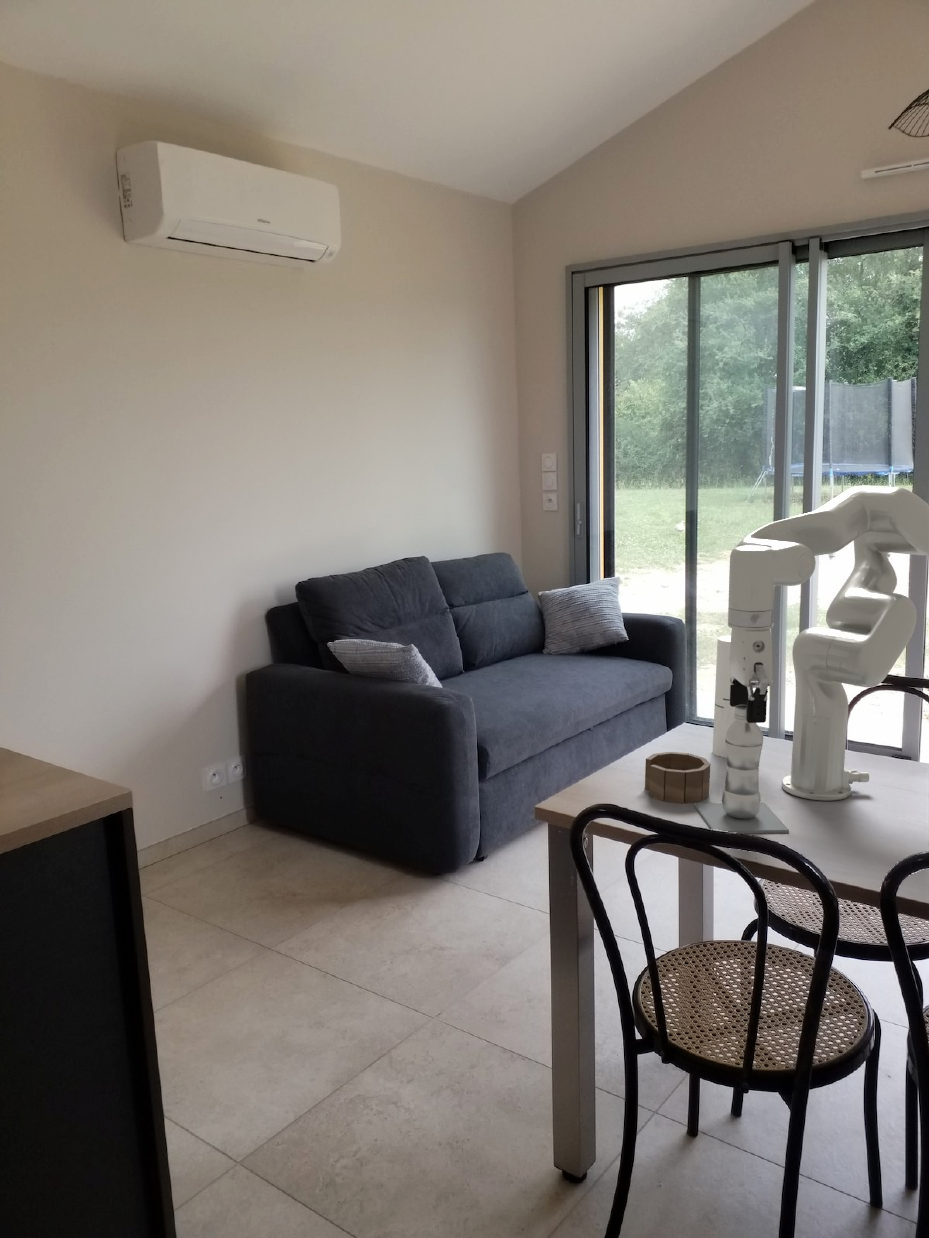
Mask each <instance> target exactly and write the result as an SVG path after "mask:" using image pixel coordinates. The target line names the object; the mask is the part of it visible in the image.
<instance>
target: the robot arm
mask: <svg viewBox="0 0 929 1238" xmlns="http://www.w3.org/2000/svg"><path fill="white" fill-rule="evenodd" d="M852 542H853V547H854V548H853V549H854V550H853V551H854V567H853V570H852V572H850V575H849V576H848V578H847V579H846V580H845V582H844V584H843V585H842V586H841V588H840V589H839V591H838V592H837V593H836V595H835V597H834V598H832V599H833V600H832V601H831V603H830V604H829V606H828V608H827V610H826V615H825V622H826V624H827V627H820V626H816V627H815V626H814V627H810V628H805V629H804V630H802V631H800V633H799V634H798V635H797V636H796V637H795V639H794V642H793V644H792V650H791V651H792V663H793V670H794V676H795V677H794V678H795V697H794V698H795V703H794V717H793V731H792V732H793V735H792V747H791V748H792V750H791V765H790V766H791V767H790V774H789V775H786V776H784V777H783V778H782V780H781V788H782V789H783V790H784V791H785V792H787V793H789V794H791V795H793V796H796V797H799V798H803V799H807V800H813V801H823V802H825V801H839V800H843V799H846V798H848V797H849V796H851V794H852V786H851V785H852V784H853V783H868V782H869V781H870V774H869V772H867V771H864V772H863V771H858V770H857V769H853V768H852V769H847V768H846V767H845V759H846V746H847V745H846V744H847V731H848V730H847V729H848V718H849V717H848V715H849V699H848V695H847V693H846V690H845V687H844V685H843V684H845V685H850V686H855V687H860V688H874V687H876V686H878V685H880V684H881V683H882V682H883V681H884V680H885V679H886V678H887V677H888V675H889V673H890V672H891V670H892V669H893V667H894V666H895V664H896V662H897V661H898V659H899V657H900V656H901V655H902V653H903V651H904V650H905V649H906V647H907V645H908V644H909V643H910V640H911V638H912V637H913V634H914V631H915V628H916V625H917V620H918V619H917V617H918V615H917V613H918V612H917V607H916V605H915V604H914V602H913V601H912V600H911V598H909V597H908V596H907V595H904V594H901V593H897V592H896V593H895V590H896V587H897V586H898V578H897V574H896V570H895V569H894V566H893V565H892V564H891V562H890V560H889V557H888V553H891V554H893V553H894V554H903V555H904V554H905V555H916V556H929V504H928V503H927V502H926V501H925V500H924V499H922V498H921V497H920V496H918V495H917V494H915V493H914V492H913V491H910V490H908V489H906V488H903V487H898V486H894V487H893V486H879V485H878V486H877V485H859V486H852V487H850V488H847V489H846V490H845V491H843V492H841V493H840V494H838V495H836V496H835V497H834V498H831V499H830V500H829V501H827V502H825V504H822V505H821V506H819V507H818V508H816V509H815V510H813V511H810V512H807V513H803V514H798V515H795V516H791V517H789V518H785V519H780V520H777V521H773V522H771V523H768V524H766V525H763V526H761V527H759V528H758V529H756V530H754V531H753V532H750V533H749V534H748V535H746V536H745V537H744V538H742V540H741V541H740V542H739V543H738V544H737V545H736V547H734V548H733V549H732V550H731V552H730V554H729V577H728V609H727V612H728V613H727V626H728V628H730V629H731V632H730V636H731V643H730V673H731V678H730V683H731V684H732V685H730V706H732V707H735V706H737V705H747V718H746V721H747V722H748V723H756V724H757V723H758V724H759V723H761V724H762V723H763V724H764V723H765V722H767V709H768V708H767V705H768V704H767V703H768V693H769V689H768V687H771V686H772V684H773V678H774V675H773V672H774V669H773V668H774V667H773V665H774V663H773V656H774V655H773V641H772V640H773V639H772V629H774V618H775V617H774V616H775V615H774V614H775V613H774V612H775V611H774V610H775V592H776V591H775V588H776V587H777V586H778V587H779V586H784V587H785V586H786V587H787V586H788V587H793V586H794V587H795V586H799V585H802V584H804V583H805V582H807V581H808V580H809V579H810V578H811V577H812V575H813V574H814V572H815V570H816V564H817V563H816V562H817V561H816V557H817V556H818V557H819V556H824V555H828V554H835V553H836V552H839V551H841V550H843V549H844V548H846V546H848V545H849V544H851V543H852ZM748 696H749V699H750V700H748Z"/></svg>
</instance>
